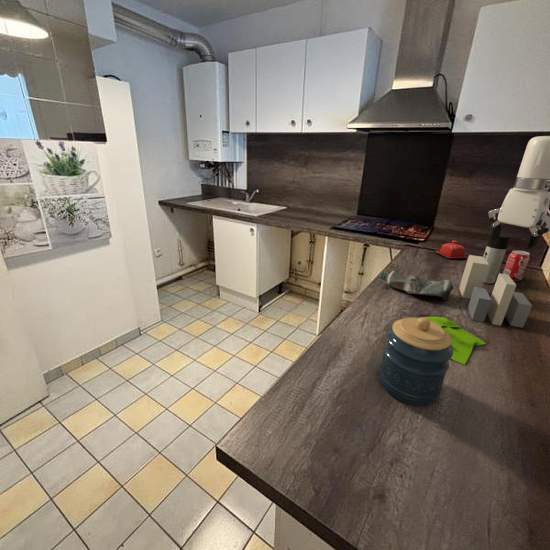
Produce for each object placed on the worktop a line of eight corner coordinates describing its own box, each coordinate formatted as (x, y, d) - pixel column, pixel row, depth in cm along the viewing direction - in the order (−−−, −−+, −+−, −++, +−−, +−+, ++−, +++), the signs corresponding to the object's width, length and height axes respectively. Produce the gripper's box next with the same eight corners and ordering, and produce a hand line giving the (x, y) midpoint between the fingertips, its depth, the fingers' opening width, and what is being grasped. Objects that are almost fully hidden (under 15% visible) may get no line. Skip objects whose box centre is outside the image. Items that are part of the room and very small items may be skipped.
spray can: (483, 276, 127) (498, 232, 119) (498, 283, 121) (515, 236, 113) (472, 278, 125) (486, 233, 117) (487, 285, 119) (503, 237, 111)
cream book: (494, 312, 98) (508, 274, 92) (501, 325, 90) (516, 285, 85) (485, 311, 99) (499, 273, 93) (491, 324, 91) (506, 283, 86)
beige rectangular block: (473, 290, 114) (483, 256, 108) (477, 300, 106) (489, 264, 101) (459, 288, 115) (468, 254, 110) (462, 297, 108) (473, 262, 102)
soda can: (524, 279, 125) (534, 253, 120) (518, 283, 121) (528, 256, 116) (505, 274, 130) (514, 248, 125) (498, 277, 126) (507, 251, 122)
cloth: (445, 315, 95) (447, 309, 95) (507, 358, 76) (510, 351, 75) (389, 321, 91) (391, 315, 90) (440, 368, 72) (442, 361, 71)
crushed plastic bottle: (451, 293, 111) (384, 276, 123) (456, 276, 107) (387, 261, 120) (447, 309, 101) (375, 289, 114) (452, 292, 98) (378, 273, 110)
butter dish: (433, 252, 156) (437, 237, 153) (453, 252, 158) (457, 237, 154) (447, 260, 146) (452, 244, 142) (468, 259, 147) (473, 243, 144)
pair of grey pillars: (513, 316, 96) (522, 293, 93) (522, 330, 88) (532, 305, 85) (467, 307, 101) (474, 285, 98) (471, 320, 93) (479, 296, 90)
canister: (453, 400, 63) (477, 330, 56) (403, 413, 59) (421, 341, 52) (411, 361, 74) (426, 300, 67) (367, 370, 71) (378, 307, 64)
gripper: (577, 188, 75) (551, 251, 82) (506, 181, 90) (489, 235, 96) (562, 189, 72) (536, 254, 79) (490, 182, 87) (474, 237, 93)
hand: (510, 244), depth 88 cm, fingers open, 9 cm apart
